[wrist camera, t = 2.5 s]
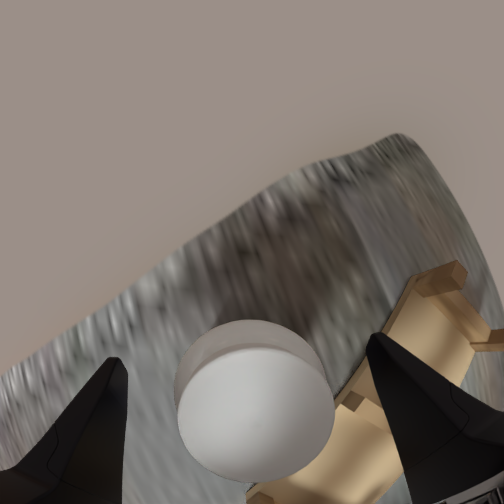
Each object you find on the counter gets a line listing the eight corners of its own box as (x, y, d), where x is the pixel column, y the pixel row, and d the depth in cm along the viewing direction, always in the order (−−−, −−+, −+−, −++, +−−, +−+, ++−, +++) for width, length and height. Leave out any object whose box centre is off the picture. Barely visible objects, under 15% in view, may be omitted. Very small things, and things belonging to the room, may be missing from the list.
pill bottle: (291, 403, 15) (358, 481, 5) (202, 410, 14) (168, 501, 5) (286, 317, 16) (356, 305, 7) (195, 323, 15) (140, 320, 6)
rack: (472, 339, 16) (515, 336, 11) (336, 527, 11) (358, 561, 7) (411, 276, 17) (457, 259, 12) (245, 493, 12) (250, 537, 8)
